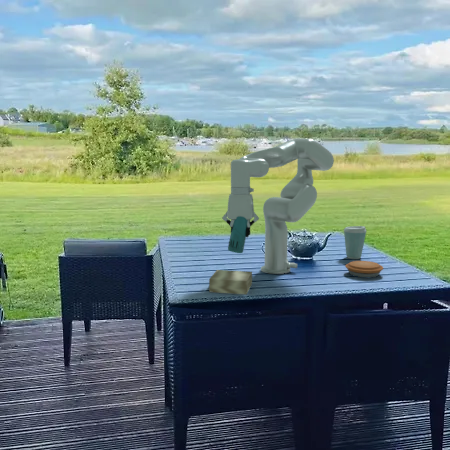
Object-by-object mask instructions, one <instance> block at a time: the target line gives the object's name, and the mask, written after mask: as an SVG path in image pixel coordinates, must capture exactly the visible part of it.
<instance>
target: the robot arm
mask: <svg viewBox="0 0 450 450" xmlns="http://www.w3.org/2000/svg"><path fill="white" fill-rule="evenodd" d="M296 160H297V161H296ZM295 161H296V162H297V170H296V171H297V172H296V174H295V176H294V177H293V178H292V179H290V181H289V182H287V184H285V186H284V187H283V188H282V190H281V192H280V195H279V196H276V197H275V196H272V197H269V198H267V199H266V200H265V202H264V203H263V207H262V209H263V210H262V211H263V212H262V213H263V218H264V227H265V228H264V231H265V232H264V234H265V235H264V265H262V266H261V267H260V271H261V272H262V273H265V274H271V275H284V273H285V274H288V273H290V272H291V269H298V263H295V262H290V261H289V259H288V235H289V234H288V231H289V230H288V225H287V223H296V222H298V221H300V220H301V219H302V218H303V217H304V216H305V215H306V214H307V212H309V210H310V209H312V207H313V206H314V205H315V203H316V201H317V197H318V193H317V189H316V187H315V186H314V178H313V171H320V172H321V171H325V172H326V171H328V170H330V169H332V167H333V166H334V162H335V160H334V156H333V154H332V152H331V151H330V150H328V148H326V147H325V146H323V144H321V143H319V142H318V141H317V140H314V139H312V138H292V139H290V140H287V141H285V142H284V143H280V144H278V145H275V146H274V147H269V148H266V149H262V150H258V151H255V152H252V153H248V154H246V155H244V156H242V157H240V158H238V159H233V160H232V161H231V162H230V194H229V195H228V201H227V211H226V212H225V214H224V215H223V216H222V220H223V221H224V222H225V223H227V224H228V226H229V228H230V232H231V231H232V230H231V229H233V228H232V226H233V224H234V220H235V219H236V218H237V217H238V216H242V217H245V218H246V219H247V220H248V222H247V228H246V238H249V236H250V235H251V227H252V226H253V225H254V224H255V223H257V222H258V221H259V219H260V218H259V216H258V215H257V214H256V212H255V210H254V209H255V207H254V197H253V194H252V193H254V191H255V190H254V189H255V188H252V187H251V178H262V177H265V176H266V175H267V174H268V173H269V171H270V169H274V168H280V167H283V166H285V165H288V164H290V163H292V162H295Z"/></svg>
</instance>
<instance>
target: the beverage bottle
mask: <svg viewBox="0 0 450 450" xmlns="http://www.w3.org/2000/svg"><path fill="white" fill-rule="evenodd" d="M247 222H248V220H247V219H246V218H245V217H242V216H238V217H237V218H236V219H235V220H234V224H233V226H232V228H233V229H231V228H230V235H229V241H228V245H227V250H228V252H232V253H236V254H243V253H244V248H245V244H246V238H247V237H246V228H247ZM231 230H232V231H231Z"/></svg>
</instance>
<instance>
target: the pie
mask: <svg viewBox="0 0 450 450" xmlns="http://www.w3.org/2000/svg"><path fill="white" fill-rule="evenodd" d="M344 266H345V268H346V269H347V270H348V273H349V274H350V275H351V276H352V275H354V276H353V277H355V276H358V277H357V278H361V277H373V278H376V276H377V277H378V276H379V275H380V274H381V272H382V271H383V270H384V266H382V265H381V264H380V263H377V262H374V261H369V260H353V261H350V262H349V263H347V264H345V265H344Z"/></svg>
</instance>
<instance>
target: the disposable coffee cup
mask: <svg viewBox="0 0 450 450" xmlns="http://www.w3.org/2000/svg"><path fill="white" fill-rule="evenodd" d="M343 235H344V245H345V255H346V257H347V259H351V260H359V259H361V257H362V255H363V250H364V244H365V239H366V235H367V229H366V226H364V225H363V226H362V225H356V226H355V225H353V226H346V227H345V228H343Z"/></svg>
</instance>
